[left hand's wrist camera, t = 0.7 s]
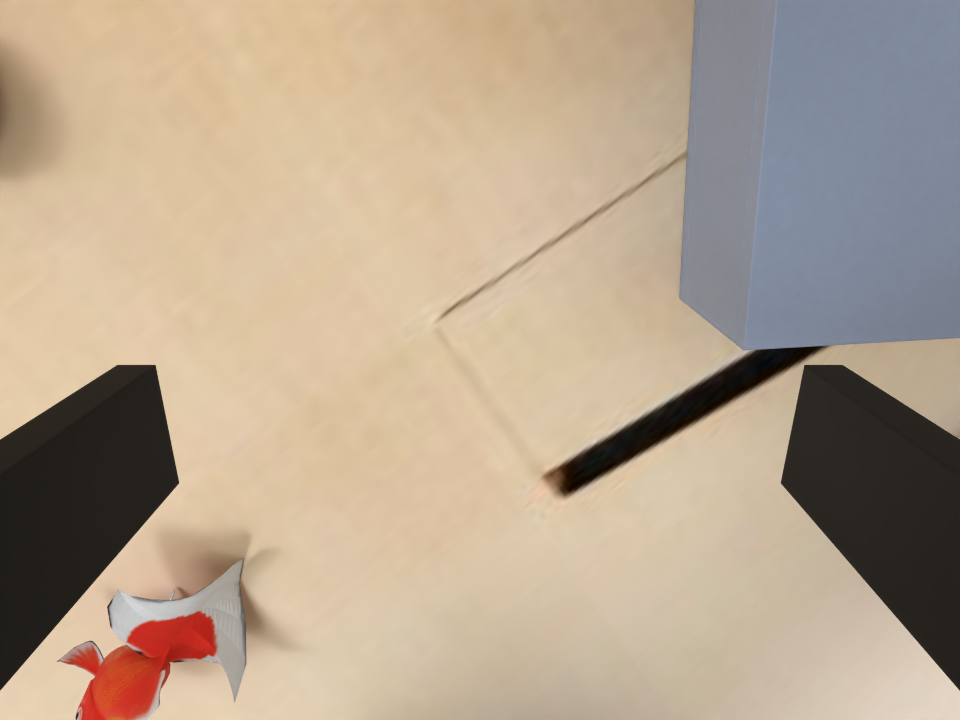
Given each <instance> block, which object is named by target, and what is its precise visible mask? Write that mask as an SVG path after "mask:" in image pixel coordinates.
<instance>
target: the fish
mask: <svg viewBox="0 0 960 720" xmlns="http://www.w3.org/2000/svg"><path fill="white" fill-rule="evenodd" d="M242 564H243V558H242V559H241V560H239V561H238V562H236V563H235V564H233V565H232V566H231V567H230V568H229V569H228V570H227V571H225V572H224V573H223V574H222V575H221V576H220V577H219V578H218V579H217V580H215V581H214V582H212V583H211V584H209V585H208V586H206V587H205V588H203V589H202V590H200V591H199V592H197V593H195V594H194V595H192V596H191V597H188V598H182V599H177V600H172V599H173V595H174V592H175V589H174V590H173V592H172V594H171V597H170V599H169V600H150V599H145V598H140V597H134V596H130V595H128V594H127V593H125V592H123V591H121V590H118V591H117V593H116V594H115V596H114V597H113V599H112V600H111V602H110V604H109V605H108V607H107V608H108V614H109V620H110V626H111V628H112V629H113V631H114V632H115V634H116V635H117V636H118V637H119V638H120V639H121V640H122V641H123V642H124V643H126V644H127V645H124V646H121V647H119V648H117V649H115V650H114V651H112V652H111V653H110V654H109V655H108V656H107V657H106V658H105V659H104V658H103V656H102V654H101V652H100V650H99V648H98V647H97V645H96V644H95V643H94V642H93V641H88V642H85V643H83V644H81V645H79V646H76V647H74V648H73V649H72V650H71V651H69V652H68V653H67V654H66V655H65V656H63V657H62V658H61V659H60V660H58V661H61V662H64V663H67V664H72V665H75V666H77V667H80V668H83V669H85V670H87V671H88V672H90V673H91V674H93V675H94V676H95V678H94V679H93V680H91V681H90V683H89V685H88V688H87V690H86V692H85V695H84V697H83V699H82V701H81V703H80V705H79V707H78V710H77V714H76V720H147V719H148V718H149V717H150V716H151V715H153V713H154V712H155V710H156V709H157V708H158V706H159V704H160V700H159V695H160V690H161V688H162V687H163V685H164V683H165V682H166V680H167V678H168V676H169V674H170V662H183V661H191V660H203V661H208V662H215V663H219V664H220V665H221V666H222V667H223V669H224V671H225V673H226V674H227V676H228V679H229V682H230V685H231V688H232V692H233V696H234V703H235V700H236V696H237V693H238V690H239V686H240V683H241V680H242V676H243V673H244V670H245V666H246V625H245V618H244V611H243V605H242V598H241V590H240V583H239V581H240V576H241V571H242ZM58 661H57V662H58Z"/></svg>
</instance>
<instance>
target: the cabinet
mask: <svg viewBox="0 0 960 720" xmlns="http://www.w3.org/2000/svg"><path fill="white" fill-rule="evenodd" d="M680 299H681V300H682V301H683V302H684V303H686V304H687V305H688V306H689V307H691V308H692V309H693V310H694V311H695V312H697V313H698V314H699V315H700V316H702V317H703V318H704V319H705V320H707V321H708V322H709V323H710V324H712V325H713V326H714V327H715V328H717V329H718V330H719V331H720V332H721V333H723V334H724V335H725V336H726V337H728V338H729V339H730V340H731V341H733V342H734V343H736V344H737V345H738V346H739V347H740V348H741V349H743V350H756V349H774V348H791V347H808V346H826V345H843V344H861V343H878V342H895V341H913V340H930V339H947V338H960V0H696V1H695V20H694V38H693V57H692V75H691V94H690V112H689V131H688V149H687V168H686V187H685V205H684V224H683V242H682V261H681V279H680Z"/></svg>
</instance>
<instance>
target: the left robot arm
mask: <svg viewBox="0 0 960 720" xmlns="http://www.w3.org/2000/svg"><path fill="white" fill-rule="evenodd" d="M178 484H179V480H178V475H177V470H176V465H175V460H174V455H173V450H172V445H171V440H170V435H169V430H168V425H167V420H166V415H165V410H164V405H163V400H162V395H161V390H160V385H159V380H158V375H157V370H156V365H117V366H115V367H114V368H112V369H111V370H109V371H107V372H106V373H104V374H103V375H101V376H100V377H98V378H96V379H95V380H93V381H92V382H90V383H89V384H87V385H85V386H84V387H82V388H81V389H79V390H78V391H76V392H74V393H73V394H71V395H70V396H68V397H67V398H65V399H63V400H62V401H60V402H59V403H57V404H56V405H54V406H52V407H51V408H49V409H48V410H46V411H45V412H43V413H41V414H40V415H38V416H37V417H35V418H34V419H32V420H30V421H29V422H27V423H26V424H24V425H23V426H21V427H19V428H18V429H16V430H15V431H13V432H12V433H10V434H8V435H7V436H5V437H4V438H2V439H1V440H0V690H1V689H2V688H3V687H4V686H5V684H6V683H7V682H8V681H9V680H10V679H11V677H12V676H13V675H14V674H15V673H16V672H17V670H18V669H19V668H20V667H21V666H22V665H23V664H24V662H25V661H26V660H27V659H28V658H29V657H30V655H31V654H32V653H33V652H34V651H35V650H36V648H37V647H38V646H39V645H40V644H41V643H42V641H43V640H44V639H45V638H46V637H47V636H48V635H49V633H50V632H51V631H52V630H53V629H54V628H55V626H56V625H57V624H58V623H59V622H60V621H61V619H62V618H63V617H64V616H65V615H66V614H67V613H68V611H69V610H70V609H71V608H72V607H73V606H74V604H75V603H76V602H77V601H78V600H79V599H80V597H81V596H82V595H83V594H84V593H85V592H86V590H87V589H88V588H89V587H90V586H91V585H92V584H93V582H94V581H95V580H96V579H97V578H98V577H99V575H100V574H101V573H102V572H103V571H104V570H105V568H106V567H107V566H108V565H109V564H110V563H111V562H112V560H113V559H114V558H115V557H116V556H117V555H118V553H119V552H120V551H121V550H122V549H123V548H124V546H125V545H126V544H127V543H128V542H129V541H130V539H131V538H132V537H133V536H134V535H135V534H136V533H137V531H138V530H139V529H140V528H141V527H142V526H143V524H144V523H145V522H146V521H147V520H148V519H149V517H150V516H151V515H152V514H153V513H154V512H155V511H156V509H157V508H158V507H159V506H160V505H161V504H162V502H163V501H164V500H165V499H166V498H167V497H168V495H169V494H170V493H171V492H172V491H173V490H174V488H175V487H176V486H177V485H178ZM781 484H782V485H783V486H784V487H785V488H786V490H787V491H788V492H789V493H790V494H791V495H792V497H793V498H794V499H795V500H796V501H797V502H798V504H799V505H800V506H801V507H802V508H803V509H804V511H805V512H806V513H807V514H808V515H809V516H810V517H811V519H812V520H813V521H814V522H815V523H816V524H817V526H818V527H819V528H820V529H821V530H822V531H823V533H824V534H825V535H826V536H827V537H828V538H829V539H830V541H831V542H832V543H833V544H834V545H835V546H836V548H837V549H838V550H839V551H840V552H841V553H842V555H843V556H844V557H845V558H846V559H847V560H848V562H849V563H850V564H851V565H852V566H853V567H854V568H855V570H856V571H857V572H858V573H859V574H860V575H861V577H862V578H863V579H864V580H865V581H866V582H867V584H868V585H869V586H870V587H871V588H872V589H873V590H874V592H875V593H876V594H877V595H878V596H879V597H880V599H881V600H882V601H883V602H884V603H885V604H886V606H887V607H888V608H889V609H890V610H891V611H892V613H893V614H894V615H895V616H896V617H897V618H898V619H899V621H900V622H901V623H902V624H903V625H904V626H905V628H906V629H907V630H908V631H909V632H910V633H911V635H912V636H913V637H914V638H915V639H916V640H917V641H918V643H919V644H920V645H921V646H922V647H923V648H924V650H925V651H926V652H927V653H928V654H929V655H930V657H931V658H932V659H933V660H934V661H935V662H936V664H937V665H938V666H939V667H940V668H941V669H942V670H943V672H944V673H945V674H946V675H947V676H948V677H949V679H950V680H951V681H952V682H953V683H954V684H955V686H956V687H957V688H958V689H959V690H960V440H959V439H958V438H956V437H955V436H953V435H952V434H950V433H948V432H947V431H945V430H944V429H942V428H941V427H939V426H937V425H936V424H934V423H933V422H931V421H930V420H928V419H926V418H925V417H923V416H922V415H920V414H919V413H917V412H915V411H914V410H912V409H911V408H909V407H908V406H906V405H904V404H903V403H901V402H900V401H898V400H897V399H895V398H893V397H892V396H890V395H889V394H887V393H886V392H884V391H882V390H881V389H879V388H878V387H876V386H875V385H873V384H871V383H870V382H868V381H867V380H865V379H864V378H862V377H860V376H859V375H857V374H856V373H854V372H853V371H851V370H849V369H848V368H846V367H845V366H843V365H804V370H803V375H802V380H801V385H800V390H799V395H798V400H797V405H796V410H795V415H794V420H793V425H792V430H791V435H790V440H789V445H788V450H787V455H786V460H785V465H784V470H783V475H782V480H781Z"/></svg>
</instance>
